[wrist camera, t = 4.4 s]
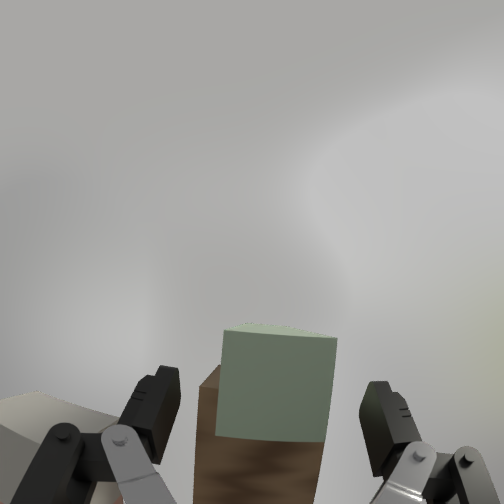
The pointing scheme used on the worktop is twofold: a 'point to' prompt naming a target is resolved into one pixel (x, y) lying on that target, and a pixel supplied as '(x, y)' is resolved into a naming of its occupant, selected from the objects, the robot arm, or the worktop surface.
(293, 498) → the walnut stand
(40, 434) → the brick tower
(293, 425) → the long brick
